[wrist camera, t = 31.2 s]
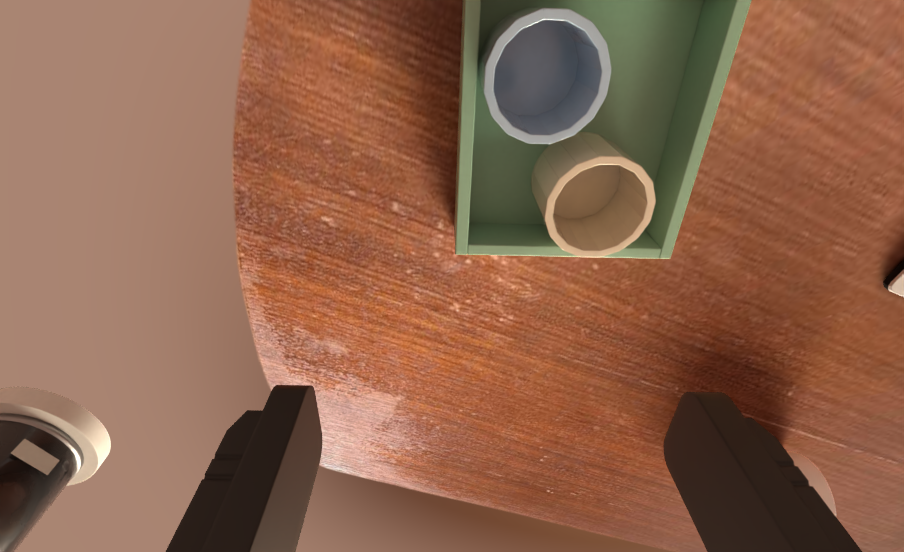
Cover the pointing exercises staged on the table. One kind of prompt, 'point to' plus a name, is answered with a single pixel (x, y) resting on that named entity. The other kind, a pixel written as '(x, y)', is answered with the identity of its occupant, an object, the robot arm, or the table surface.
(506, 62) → the gray cup
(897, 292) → the smartphone
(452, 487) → the table surface
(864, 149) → the table surface
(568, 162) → the cream cup
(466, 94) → the tub
